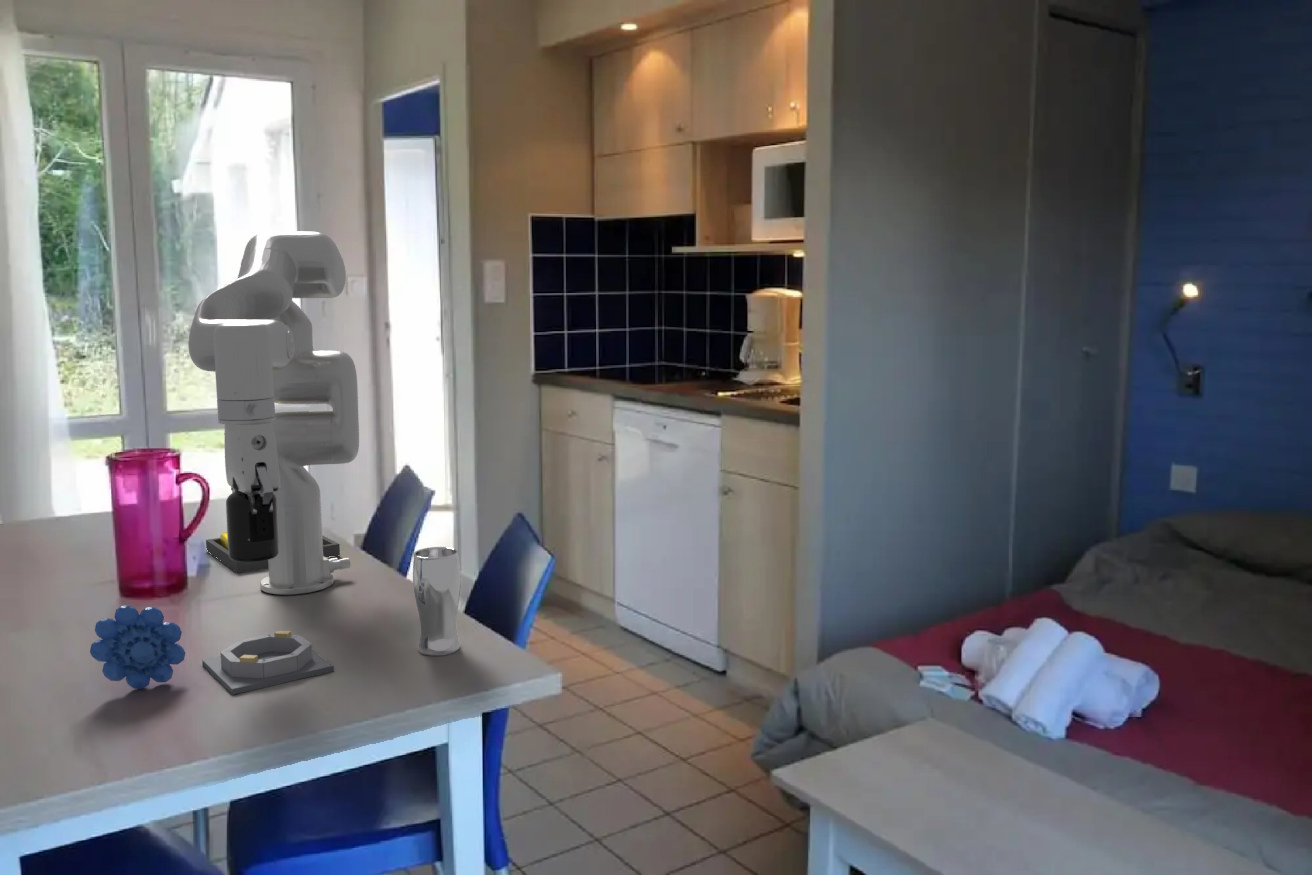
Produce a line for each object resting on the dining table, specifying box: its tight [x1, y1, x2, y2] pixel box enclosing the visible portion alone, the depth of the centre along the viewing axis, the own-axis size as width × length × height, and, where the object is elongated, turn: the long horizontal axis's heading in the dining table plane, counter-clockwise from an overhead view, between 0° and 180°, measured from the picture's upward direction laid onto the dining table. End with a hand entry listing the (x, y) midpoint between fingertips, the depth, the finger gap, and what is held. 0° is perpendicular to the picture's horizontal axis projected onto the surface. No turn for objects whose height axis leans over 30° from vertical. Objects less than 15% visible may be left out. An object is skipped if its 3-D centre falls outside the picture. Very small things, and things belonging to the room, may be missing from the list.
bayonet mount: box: [201, 630, 335, 696], centre depth 154 cm, size 14×14×4 cm
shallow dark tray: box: [205, 534, 341, 574], centre depth 216 cm, size 20×20×2 cm
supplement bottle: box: [225, 477, 279, 562], centre depth 152 cm, size 7×7×12 cm
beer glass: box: [412, 546, 462, 657], centre depth 161 cm, size 7×7×15 cm
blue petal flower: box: [89, 604, 186, 690], centre depth 145 cm, size 12×7×12 cm, turn 125°
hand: (253, 534), depth 153 cm, fingers closed on supplement bottle, 6 cm apart
